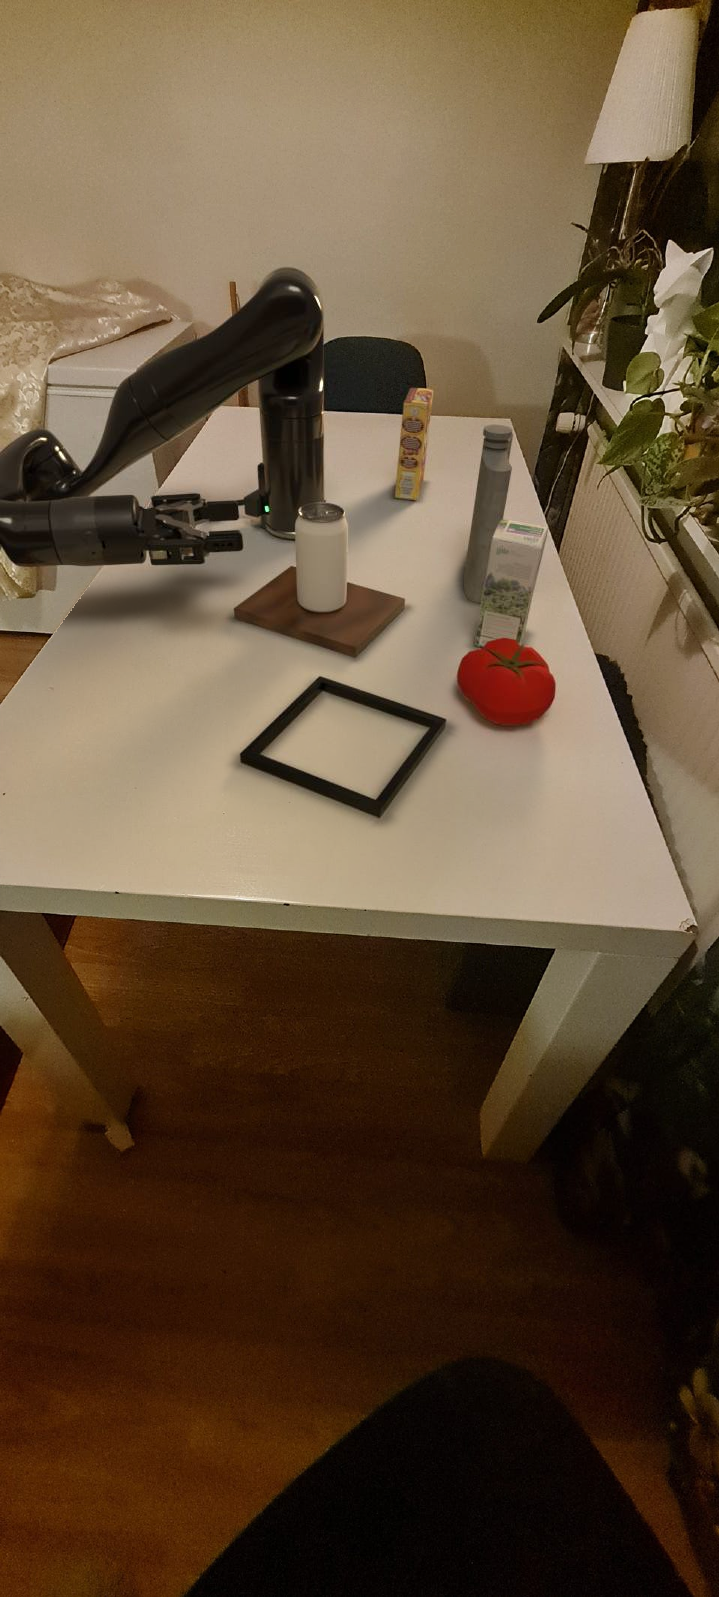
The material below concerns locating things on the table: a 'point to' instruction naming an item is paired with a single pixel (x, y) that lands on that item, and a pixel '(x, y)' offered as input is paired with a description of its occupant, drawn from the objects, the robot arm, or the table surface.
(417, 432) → the candy box
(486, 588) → the syrup box
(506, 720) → the tomato
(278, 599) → the board
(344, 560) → the can
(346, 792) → the black square frame
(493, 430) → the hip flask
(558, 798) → the table surface
